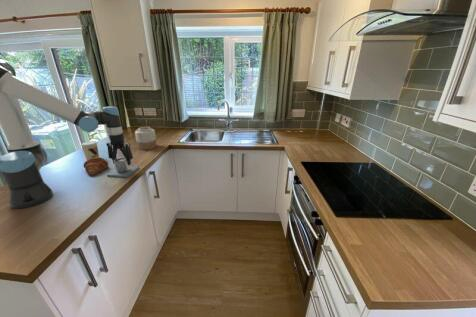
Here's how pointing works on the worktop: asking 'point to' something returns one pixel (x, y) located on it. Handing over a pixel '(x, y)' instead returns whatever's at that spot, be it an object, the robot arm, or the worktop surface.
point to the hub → (121, 164)
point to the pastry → (95, 166)
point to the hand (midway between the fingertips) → (123, 169)
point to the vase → (145, 138)
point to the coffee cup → (90, 150)
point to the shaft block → (123, 174)
